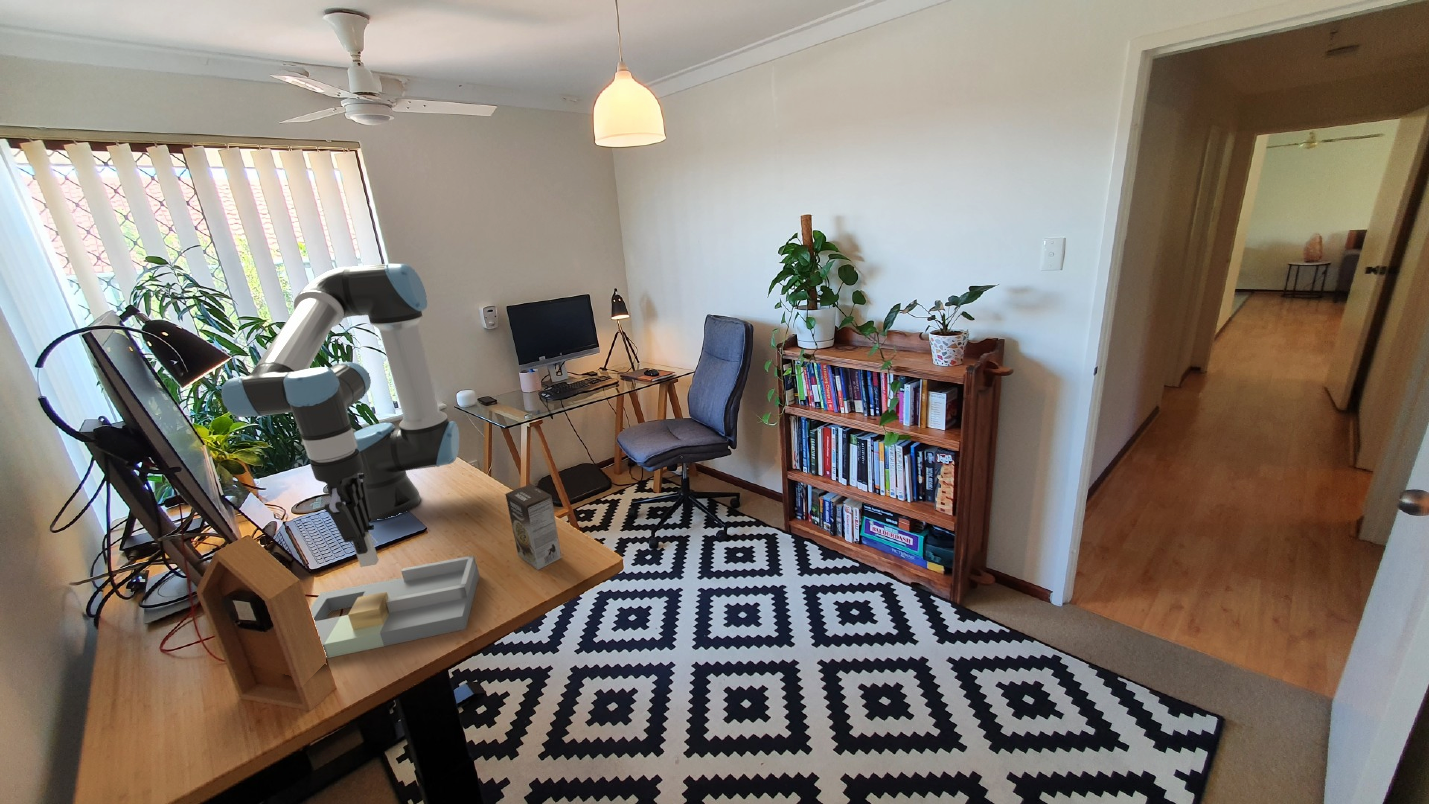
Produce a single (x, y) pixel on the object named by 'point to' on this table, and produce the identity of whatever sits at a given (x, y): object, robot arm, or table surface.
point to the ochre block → (369, 611)
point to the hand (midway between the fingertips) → (369, 563)
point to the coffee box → (534, 525)
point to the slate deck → (402, 607)
